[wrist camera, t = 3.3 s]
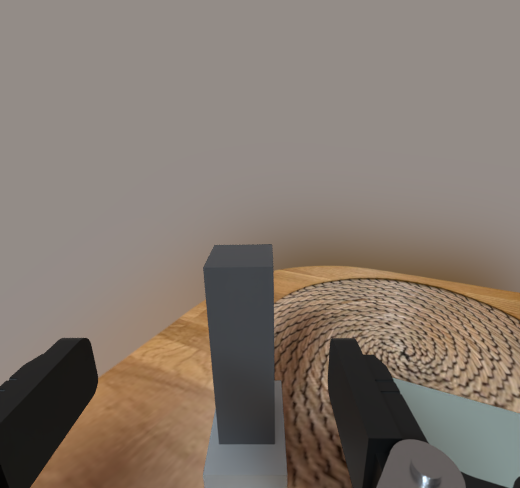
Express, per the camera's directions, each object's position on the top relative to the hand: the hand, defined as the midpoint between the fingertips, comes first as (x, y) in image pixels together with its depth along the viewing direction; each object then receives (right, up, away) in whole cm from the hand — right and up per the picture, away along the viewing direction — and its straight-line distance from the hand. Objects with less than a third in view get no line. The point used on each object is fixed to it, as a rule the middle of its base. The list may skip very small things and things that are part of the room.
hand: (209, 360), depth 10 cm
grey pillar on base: (+1, -13, +16) cm, 21 cm away
